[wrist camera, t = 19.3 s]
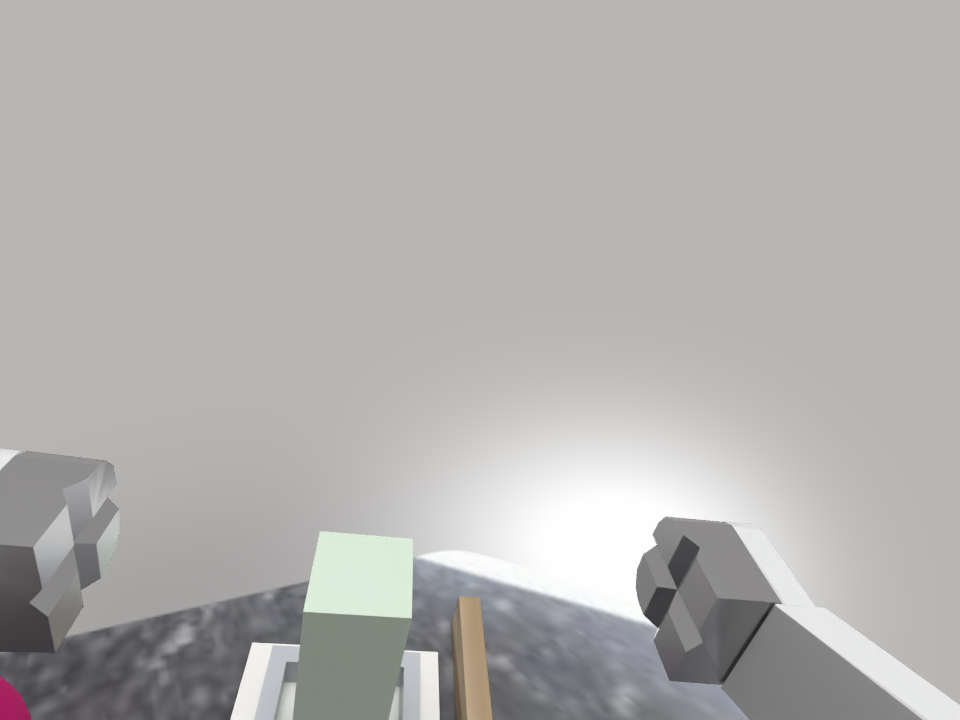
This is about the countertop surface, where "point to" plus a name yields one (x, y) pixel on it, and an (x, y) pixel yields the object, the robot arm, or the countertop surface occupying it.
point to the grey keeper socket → (273, 676)
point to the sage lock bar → (354, 627)
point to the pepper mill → (11, 703)
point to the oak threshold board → (470, 662)
